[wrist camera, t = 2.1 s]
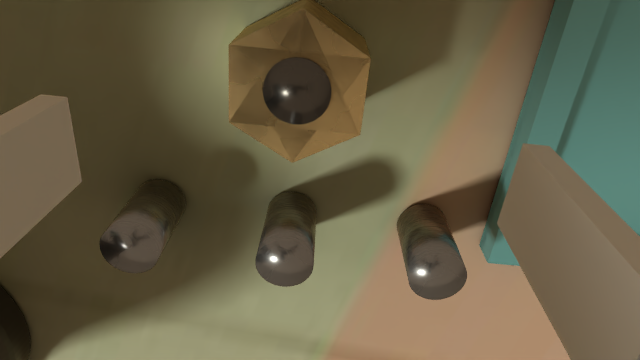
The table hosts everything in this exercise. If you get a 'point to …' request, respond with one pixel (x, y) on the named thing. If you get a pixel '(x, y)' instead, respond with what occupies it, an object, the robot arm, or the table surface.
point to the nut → (298, 80)
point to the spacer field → (283, 239)
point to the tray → (582, 108)
